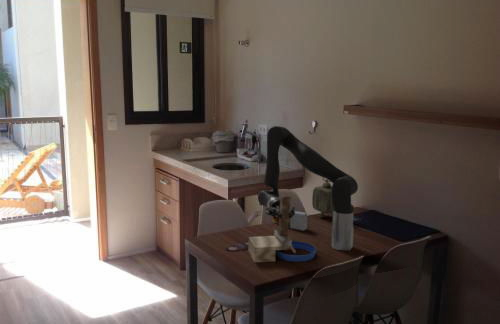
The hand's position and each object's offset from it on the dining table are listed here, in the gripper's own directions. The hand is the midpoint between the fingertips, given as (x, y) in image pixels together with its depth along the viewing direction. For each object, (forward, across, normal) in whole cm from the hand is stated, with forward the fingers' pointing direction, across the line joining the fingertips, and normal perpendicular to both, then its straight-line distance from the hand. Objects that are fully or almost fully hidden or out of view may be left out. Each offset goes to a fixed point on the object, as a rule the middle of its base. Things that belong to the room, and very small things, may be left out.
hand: (286, 216), depth 193 cm
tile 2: (-3, +1, +15) cm, 16 cm away
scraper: (-3, 0, +12) cm, 12 cm away
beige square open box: (-3, -7, +18) cm, 20 cm away
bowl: (-3, +6, +19) cm, 20 cm away
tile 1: (+2, +2, +14) cm, 14 cm away
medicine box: (-38, +18, +19) cm, 46 cm away
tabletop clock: (-57, +39, +18) cm, 71 cm away
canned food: (-52, +11, +18) cm, 56 cm away
